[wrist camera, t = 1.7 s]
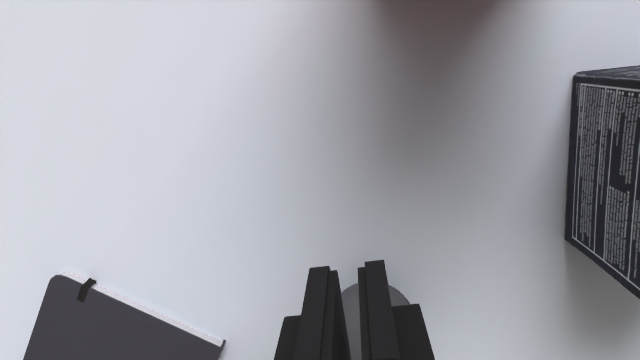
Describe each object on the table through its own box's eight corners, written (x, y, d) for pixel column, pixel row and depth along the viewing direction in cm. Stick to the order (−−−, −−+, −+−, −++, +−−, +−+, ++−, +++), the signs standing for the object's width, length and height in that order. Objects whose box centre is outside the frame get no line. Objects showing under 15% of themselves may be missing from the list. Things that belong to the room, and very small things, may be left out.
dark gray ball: (406, 261, 28) (420, 310, 23) (414, 332, 29) (428, 393, 24) (324, 270, 28) (318, 319, 23) (335, 339, 30) (333, 400, 25)
